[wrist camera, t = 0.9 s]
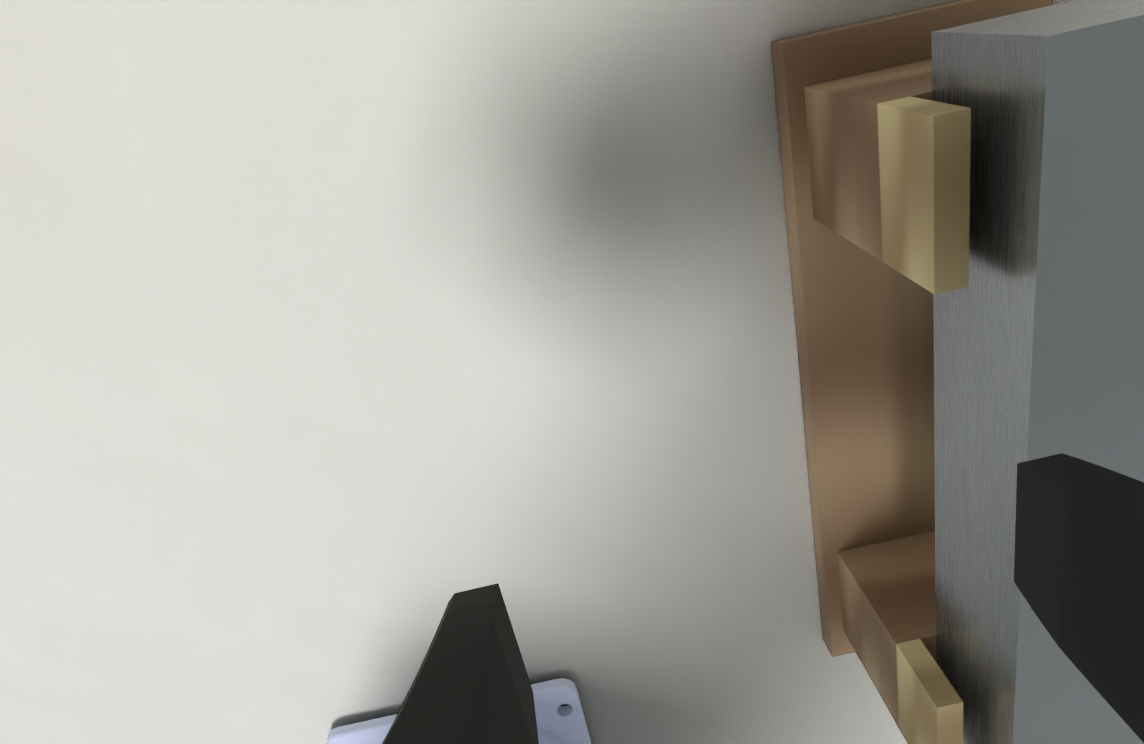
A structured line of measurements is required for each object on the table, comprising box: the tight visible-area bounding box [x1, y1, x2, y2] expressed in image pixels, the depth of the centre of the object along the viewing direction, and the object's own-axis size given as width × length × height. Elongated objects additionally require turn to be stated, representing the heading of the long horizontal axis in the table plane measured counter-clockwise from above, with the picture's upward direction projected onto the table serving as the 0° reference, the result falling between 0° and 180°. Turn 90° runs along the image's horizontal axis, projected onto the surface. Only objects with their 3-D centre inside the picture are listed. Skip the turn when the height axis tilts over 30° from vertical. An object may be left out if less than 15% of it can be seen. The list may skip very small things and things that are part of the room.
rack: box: [771, 0, 1053, 744], centre depth 19 cm, size 18×6×6 cm, turn 11°
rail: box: [931, 0, 1144, 744], centre depth 16 cm, size 18×3×3 cm, turn 11°
